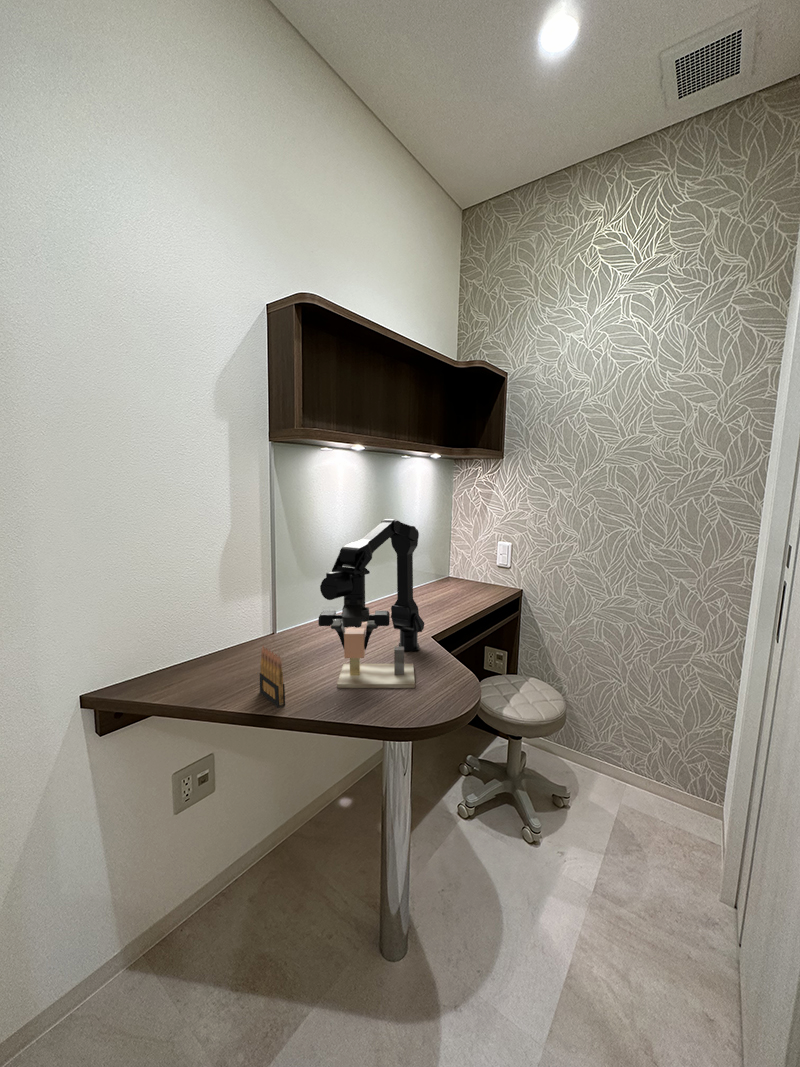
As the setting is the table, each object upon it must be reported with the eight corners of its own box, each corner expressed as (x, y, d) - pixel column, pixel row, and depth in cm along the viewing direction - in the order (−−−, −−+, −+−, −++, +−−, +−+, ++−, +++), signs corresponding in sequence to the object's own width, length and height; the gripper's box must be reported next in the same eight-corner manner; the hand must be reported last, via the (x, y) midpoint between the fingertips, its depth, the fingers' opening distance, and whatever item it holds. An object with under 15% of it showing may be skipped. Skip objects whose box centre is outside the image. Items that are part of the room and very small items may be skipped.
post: (350, 671, 125) (350, 646, 125) (360, 671, 125) (360, 646, 125) (349, 675, 123) (349, 649, 122) (359, 675, 123) (359, 649, 122)
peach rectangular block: (346, 651, 126) (346, 628, 126) (365, 651, 126) (365, 628, 126) (344, 658, 121) (344, 633, 120) (364, 658, 121) (363, 633, 120)
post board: (343, 667, 131) (343, 639, 130) (413, 667, 131) (413, 639, 130) (337, 687, 117) (336, 657, 116) (414, 687, 117) (414, 657, 116)
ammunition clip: (259, 692, 115) (258, 645, 114) (266, 690, 116) (265, 644, 115) (278, 707, 107) (276, 657, 105) (285, 705, 108) (284, 655, 107)
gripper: (313, 599, 114) (315, 660, 115) (388, 599, 114) (388, 660, 115) (321, 590, 125) (322, 645, 127) (389, 590, 125) (389, 645, 127)
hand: (355, 649), depth 124 cm, fingers closed on peach rectangular block, 5 cm apart
